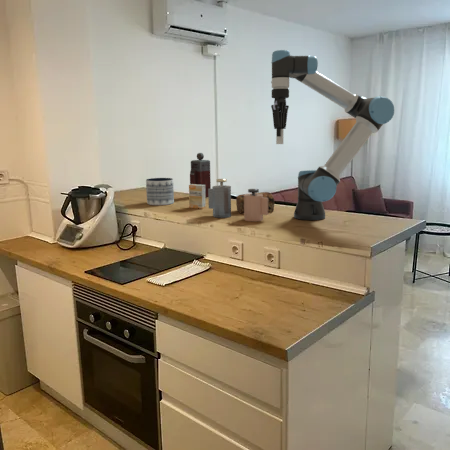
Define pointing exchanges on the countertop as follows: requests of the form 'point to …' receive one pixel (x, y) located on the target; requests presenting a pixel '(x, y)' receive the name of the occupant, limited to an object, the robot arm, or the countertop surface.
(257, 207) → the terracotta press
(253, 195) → the glossy charcoal round knob
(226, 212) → the faceted cylinder
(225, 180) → the steel plunger
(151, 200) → the planter
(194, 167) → the dark red french press
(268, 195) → the bread
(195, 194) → the supplement box
